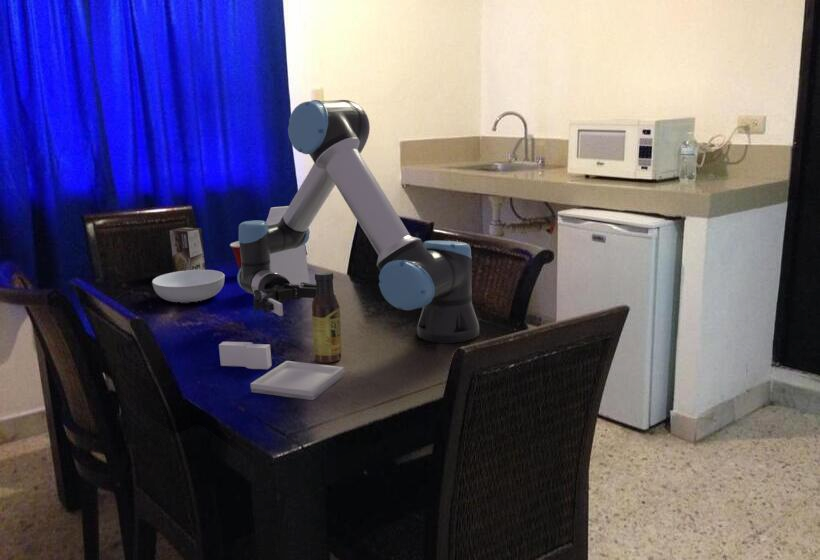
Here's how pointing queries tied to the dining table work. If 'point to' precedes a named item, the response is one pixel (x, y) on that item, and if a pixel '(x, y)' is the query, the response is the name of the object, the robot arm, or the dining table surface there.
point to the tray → (298, 380)
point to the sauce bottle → (326, 320)
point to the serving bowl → (189, 285)
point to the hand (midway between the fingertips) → (308, 304)
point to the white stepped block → (245, 355)
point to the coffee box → (187, 249)
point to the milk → (288, 255)
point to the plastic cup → (237, 252)
